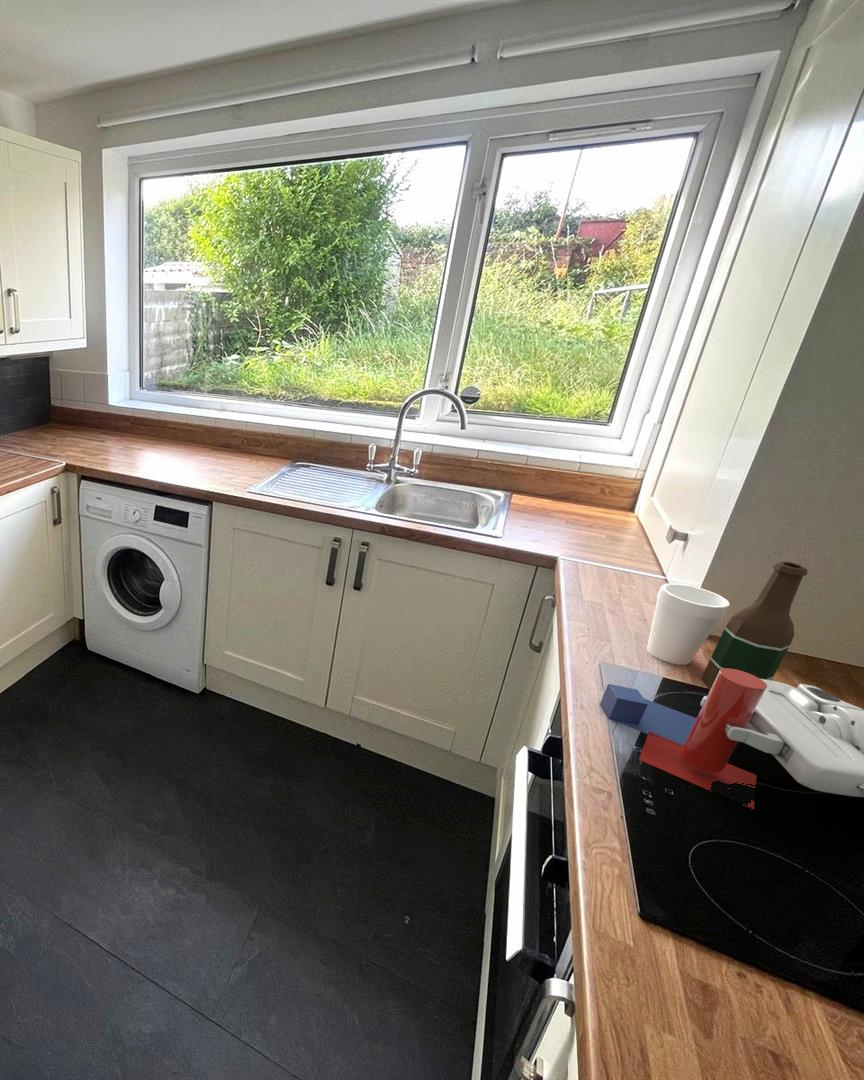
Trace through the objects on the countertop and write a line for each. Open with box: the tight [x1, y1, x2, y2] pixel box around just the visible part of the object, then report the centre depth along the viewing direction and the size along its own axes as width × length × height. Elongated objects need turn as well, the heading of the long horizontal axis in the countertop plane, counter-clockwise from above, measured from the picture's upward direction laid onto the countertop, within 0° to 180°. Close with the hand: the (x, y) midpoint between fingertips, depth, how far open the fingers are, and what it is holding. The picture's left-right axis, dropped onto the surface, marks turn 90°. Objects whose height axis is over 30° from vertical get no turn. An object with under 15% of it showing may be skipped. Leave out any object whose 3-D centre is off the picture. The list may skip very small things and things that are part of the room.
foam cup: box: [646, 582, 731, 666], centre depth 108 cm, size 10×9×13 cm
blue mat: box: [610, 698, 697, 746], centre depth 92 cm, size 10×11×1 cm
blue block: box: [599, 683, 648, 725], centre depth 92 cm, size 4×4×4 cm
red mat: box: [638, 732, 757, 810], centre depth 83 cm, size 12×9×1 cm
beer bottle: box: [701, 561, 808, 690], centre depth 96 cm, size 8×8×24 cm
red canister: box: [680, 668, 767, 773], centre depth 79 cm, size 5×5×14 cm
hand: (715, 716), depth 79 cm, fingers closed on red canister, 4 cm apart
